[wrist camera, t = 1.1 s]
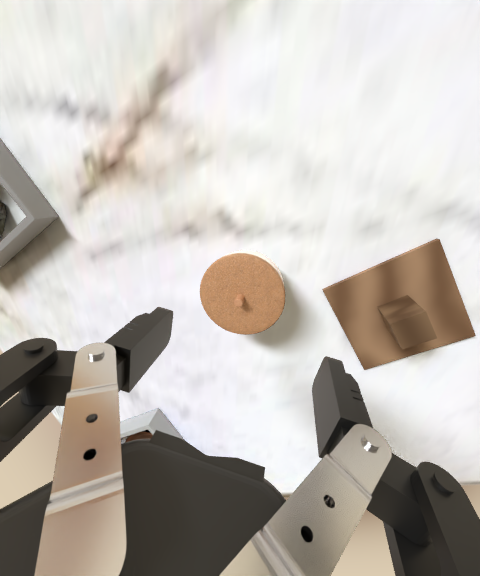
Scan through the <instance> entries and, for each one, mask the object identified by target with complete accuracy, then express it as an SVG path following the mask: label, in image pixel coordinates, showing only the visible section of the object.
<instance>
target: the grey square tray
mask: <svg viewBox="0 0 480 576" xmlns="http://www.w3.org/2000/svg"><path fill="white" fill-rule="evenodd" d="M145 430H149V431H150V432H151V434H152V435H153V434H154V433H155V431H156V430H158V431H161V432H164V433H167V434H170V435H172V436H175V437H178V438H181V439H183V438H182V436H181V435H180V434H179V433H178V431H177V430H176V429H175V428H174V426H173V425H172V424H171V423H170V422H169V420H168V419H167V418H166V417H165V415H164V414H163V413H162V412H161V410H160V409H159V408H158V409H155V410H152V411H149V412H146V413H144V414H141V415H138V416H135V417H132V418H129V419H127V420H124V421H121V422H120V435H121V438H123V437H126V436H129V435H132V434H135V433H138V432H141V431H145ZM183 440H184V439H183ZM184 441H185V440H184Z"/></svg>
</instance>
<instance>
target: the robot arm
mask: <svg viewBox="0 0 480 576" xmlns="http://www.w3.org/2000/svg"><path fill="white" fill-rule="evenodd" d="M172 320H173V311H171V310H168V309H164V308H161V307H157V308H156V309H155V310H154V311H153V312H152V313H150V314H148V313H145V314H142V315H139V316H137V317H135V318H134V319H133V320H132V321H130V323H128V324H127V325H125V326H124V328H122V329H121V330H119V331H118V332H117V333H116V334H114V335H113V336H112V337H111V338H109V339H108V340H107V341H106V342H104V343H93V344H89V345H86V346H84V347H83V348H81V349H80V350H79V351H61V350H57V345H56V342H55V341H53V340H51V339H47V338H35V339H30V340H27V341H24V342H21V343H19V344H18V345H16V346H14V347H13V348H11V349H9V350H8V351H6V352H4V353H3V354H1V355H0V406H1V405H2V404H3V403H4V402H5V401H7V400H8V399H9V398H10V397H12V396H13V395H14V394H15V393H17V392H18V391H19V393H18V394H17V395H16V396H14V397H13V398H12V399H11V400H9V401H8V402H7V403H6V404H4V405H3V406H2V407H1V408H0V462H1V461H2V460H3V459H4V457H6V456H7V455H8V454H9V453H10V452H11V451H12V450H13V449H14V448H15V447H16V446H17V445H18V444H19V443H20V442H21V441H22V439H24V438H25V437H26V436H27V435H28V434H29V433H30V432H31V431H32V430H33V429H34V428H35V427H36V426H37V425H38V424H39V423H40V422H41V421H42V420H43V419H44V418H45V417H46V416H47V415H48V414H49V413H50V412H51V411H52V410H53V409H54V408H55V407H56V406H65V408H64V415H63V421H62V427H61V434H60V440H59V446H58V452H57V458H56V465H55V471H54V477H53V481H51V482H50V483H48V484H46V485H44V486H42V487H40V488H38V489H37V490H35V491H33V492H32V493H30V494H27V495H26V496H24V497H22V498H20V499H18V500H16V501H15V502H13V503H11V504H9V505H7V506H5V507H4V508H2V509H0V576H331V574H332V572H333V570H334V568H335V566H336V564H337V562H338V561H339V559H340V557H341V555H342V553H343V551H344V549H345V547H346V546H347V544H348V542H349V539H350V538H351V536H352V534H353V532H354V531H355V529H356V527H357V525H358V523H359V521H360V519H361V517H362V516H363V514H364V512H365V510H366V509H367V510H368V511H369V512H371V513H372V514H374V515H375V516H376V517H378V518H379V519H381V520H382V521H383V523H384V528H385V532H386V536H387V540H388V545H389V549H390V554H391V558H392V562H393V567H394V571H395V575H396V576H480V519H479V517H478V516H477V514H476V512H475V510H474V508H473V506H472V504H471V502H470V500H469V499H468V497H467V495H466V493H465V491H464V490H463V488H462V487H461V485H460V484H459V483H458V482H457V481H456V480H455V478H454V477H453V476H451V475H450V474H449V473H448V472H447V471H445V470H444V469H443V468H441V467H439V466H438V465H436V464H433V463H430V462H422V463H420V464H419V465H418V467H417V468H416V467H414V466H413V465H411V464H409V463H408V462H406V461H404V460H402V459H401V458H399V457H397V456H396V455H394V454H393V453H392V452H391V448H390V446H389V444H388V442H387V441H386V440H385V438H384V437H383V436H382V435H381V434H380V433H379V432H377V431H376V430H375V429H373V427H372V424H371V421H370V418H369V415H368V412H367V409H366V406H365V403H364V402H363V397H362V395H361V392H360V389H359V386H358V383H357V382H356V381H355V379H354V378H353V377H352V376H351V374H348V373H345V370H344V366H343V363H342V361H340V360H337V359H333V358H330V357H325V358H324V359H323V361H322V363H321V366H320V368H319V370H318V373H317V375H316V377H315V379H314V383H313V388H312V395H313V404H314V414H315V423H316V433H317V443H318V452H319V457H320V458H323V459H322V460H321V461H320V462H319V463H318V465H317V466H316V467H315V468H314V469H313V470H312V471H311V473H310V474H309V475H308V476H307V477H306V478H305V480H304V481H303V482H302V483H301V484H300V485H299V487H298V488H297V489H296V490H295V491H294V492H293V494H292V495H291V496H290V497H289V498H288V500H287V501H286V500H285V499H284V497H283V496H282V495H281V493H280V492H279V491H278V490H277V489H276V488H275V487H274V486H273V485H272V484H271V483H270V482H269V481H267V480H266V479H264V471H265V467H262V466H259V465H256V464H253V463H251V462H248V461H245V460H242V459H239V458H231V457H216V456H207V455H205V454H203V453H202V452H200V451H199V450H197V449H196V448H195V447H193V446H192V445H190V444H189V443H187V442H186V441H184V440H183V439H181V438H178V437H175V436H172V435H170V434H167V433H164V432H161V431H158V430H156V431H155V433H154V434H153V436H152V438H151V439H137V440H132V441H129V442H125V443H123V444H121V435H120V415H119V395H118V392H119V391H120V390H122V391H125V392H128V393H129V392H130V391H131V390H132V389H133V387H134V386H135V385H136V384H137V382H138V381H139V380H140V379H141V377H142V376H143V375H144V374H145V372H146V371H147V370H148V369H149V367H150V366H151V365H152V364H153V362H154V361H155V360H156V359H157V357H158V356H159V355H160V354H161V353H162V351H163V350H164V349H165V348H166V346H167V344H168V342H169V340H170V336H171V329H172Z"/></svg>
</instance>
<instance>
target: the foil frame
mask: <svg viewBox="0 0 480 576" xmlns="http://www.w3.org/2000/svg"><path fill="white" fill-rule="evenodd" d="M0 183H1V184H2V186H3V187H4V188H5V189H6V191H7V192H8V193H9V194H10V196H11V197H12V198H13V200H14V201H15V202H16V203H17V205H18V206H19V207H20V208H21V210H22V211H23V212H24V214H25V215H26V216H27V217H26V218H24V219H23V220H22V221H21V222H20V223H19V224H18V225H17V226H16V227H15V228H14V229H13V230H12V231H11V232H10V233H9V234H8V235H7V236H6V237H5V238H4V239H3V240H2V241H1V242H0V268H1V267H2V266H4V265H5V264H6V263H7V262H8V261H9V260H10V259H11V258H13V257H14V256H15V255H16V254H17V253H18V252H19V251H20V250H22V249H23V248H24V247H25V246H26V245H27V244H28V243H29V242H31V241H32V240H33V239H34V238H35V237H36V236H37V235H38V234H40V233H41V232H42V231H43V230H44V229H45V228H46V227H47V226H49V225H50V224H51V223H52V222H53V221H54V220H55V219H56V218H57V217H59V216H58V215H57V213H56V212H55V211H54V209H53V208H52V207H51V205H50V204H49V203H48V201H47V200H46V199H45V197H44V196H43V195H42V193H41V192H40V191H39V189H38V188H37V187H36V185H35V184H34V183H33V181H32V180H31V179H30V178H29V176H28V175H27V174H26V172H25V171H24V170H23V168H22V167H21V166H20V164H19V163H18V162H17V160H16V159H15V158H14V156H13V155H12V154H11V152H10V151H9V150H8V148H7V147H6V146H5V144H4V143H3V142H2V140H1V139H0Z"/></svg>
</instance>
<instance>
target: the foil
mask: <svg viewBox="0 0 480 576" xmlns="http://www.w3.org/2000/svg"><path fill="white" fill-rule="evenodd" d="M6 216H7V215H6V210H5V206H4V204H3V203H0V238H1V237H2V233H3V231H4V224H5V218H6Z"/></svg>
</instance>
